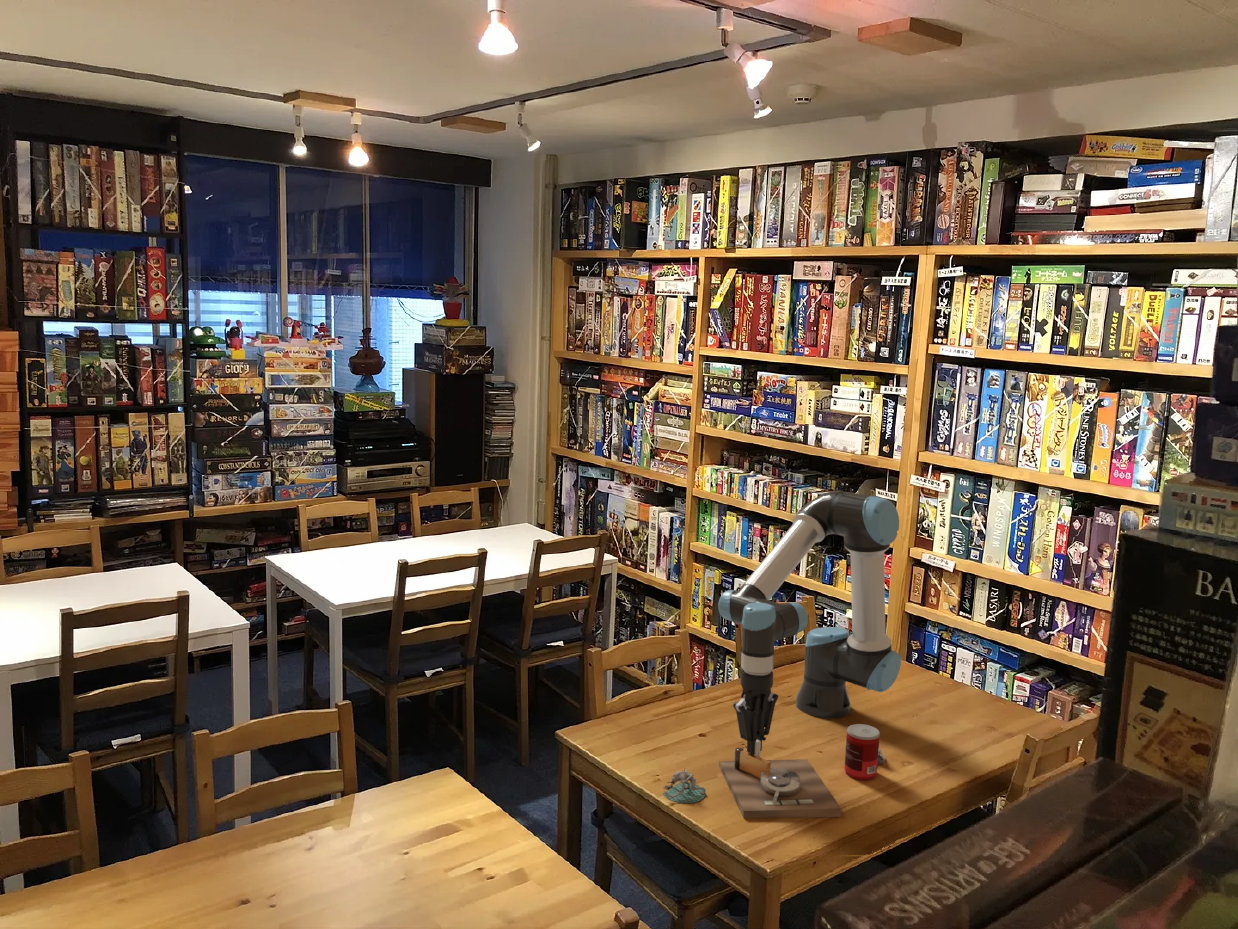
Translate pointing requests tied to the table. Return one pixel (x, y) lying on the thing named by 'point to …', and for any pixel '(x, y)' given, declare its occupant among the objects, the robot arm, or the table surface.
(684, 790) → the figurine
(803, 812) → the level stand
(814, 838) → the table surface
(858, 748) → the canned food
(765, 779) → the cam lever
